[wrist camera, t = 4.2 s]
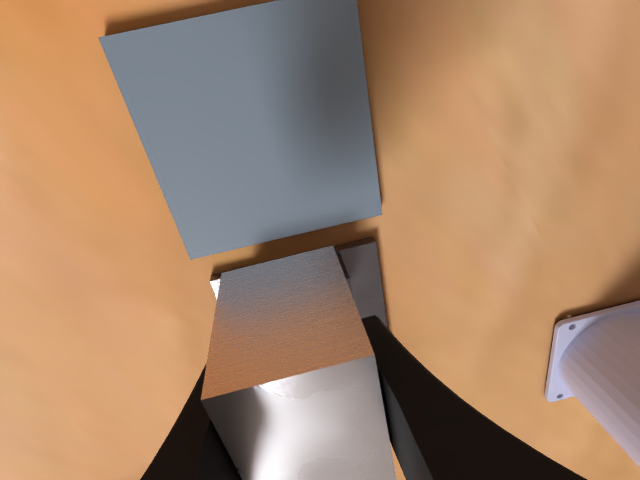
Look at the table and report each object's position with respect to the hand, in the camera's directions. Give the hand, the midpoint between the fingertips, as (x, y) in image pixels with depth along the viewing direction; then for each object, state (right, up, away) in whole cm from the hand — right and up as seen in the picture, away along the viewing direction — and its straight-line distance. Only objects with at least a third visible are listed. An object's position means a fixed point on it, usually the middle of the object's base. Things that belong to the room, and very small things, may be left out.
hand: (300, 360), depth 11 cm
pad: (-2, +8, +6) cm, 11 cm away
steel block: (0, +1, +2) cm, 2 cm away
